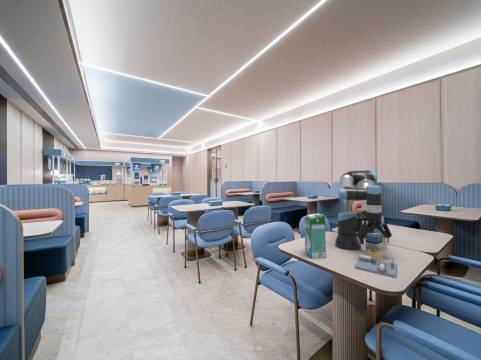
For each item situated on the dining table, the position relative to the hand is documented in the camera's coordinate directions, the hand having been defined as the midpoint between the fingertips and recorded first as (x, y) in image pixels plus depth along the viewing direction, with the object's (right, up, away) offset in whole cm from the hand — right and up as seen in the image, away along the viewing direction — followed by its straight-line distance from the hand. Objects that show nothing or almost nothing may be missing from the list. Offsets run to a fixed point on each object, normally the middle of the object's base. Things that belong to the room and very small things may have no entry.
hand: (374, 249), depth 117 cm
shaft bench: (-6, -6, -11) cm, 13 cm away
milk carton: (-31, -7, +7) cm, 33 cm away
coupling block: (0, -6, 0) cm, 6 cm away
